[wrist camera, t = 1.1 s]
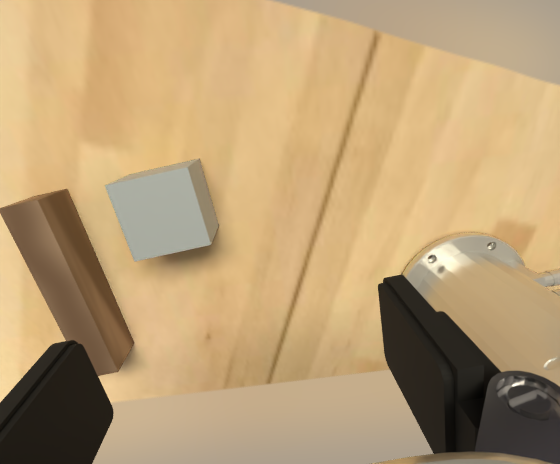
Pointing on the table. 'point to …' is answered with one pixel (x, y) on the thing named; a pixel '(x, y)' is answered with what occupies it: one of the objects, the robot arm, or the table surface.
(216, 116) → the table surface
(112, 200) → the block
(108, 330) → the brown wooden bar
